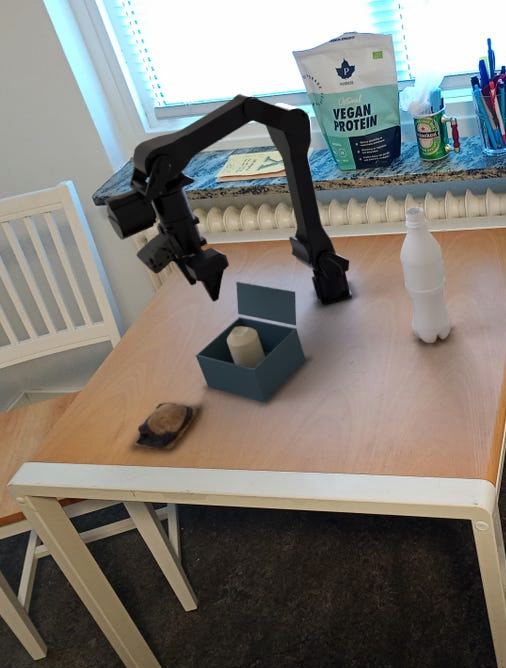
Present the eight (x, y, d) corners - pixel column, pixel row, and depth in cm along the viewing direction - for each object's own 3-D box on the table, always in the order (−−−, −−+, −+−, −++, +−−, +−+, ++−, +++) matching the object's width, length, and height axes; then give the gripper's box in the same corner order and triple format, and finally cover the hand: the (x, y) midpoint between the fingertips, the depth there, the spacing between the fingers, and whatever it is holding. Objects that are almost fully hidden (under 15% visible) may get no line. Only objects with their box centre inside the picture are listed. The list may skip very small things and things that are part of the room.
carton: (250, 347, 142) (239, 316, 137) (305, 360, 135) (296, 328, 130) (208, 387, 134) (195, 355, 129) (265, 402, 127) (253, 370, 122)
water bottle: (456, 324, 135) (440, 200, 120) (447, 347, 130) (430, 220, 115) (419, 323, 138) (399, 201, 123) (409, 345, 132) (387, 221, 118)
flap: (238, 314, 137) (239, 313, 137) (294, 325, 130) (296, 324, 130) (236, 282, 135) (237, 281, 135) (293, 291, 128) (295, 291, 128)
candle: (275, 368, 134) (261, 323, 128) (257, 386, 130) (241, 341, 125) (252, 362, 137) (237, 318, 131) (234, 380, 133) (217, 335, 127)
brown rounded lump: (162, 406, 132) (155, 390, 129) (202, 409, 129) (195, 393, 126) (131, 447, 124) (122, 431, 122) (172, 451, 121) (165, 434, 119)
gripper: (113, 220, 128) (145, 295, 137) (154, 250, 115) (187, 330, 124) (169, 196, 132) (197, 269, 142) (215, 221, 119) (242, 301, 128)
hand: (204, 292), depth 134 cm, fingers open, 9 cm apart
